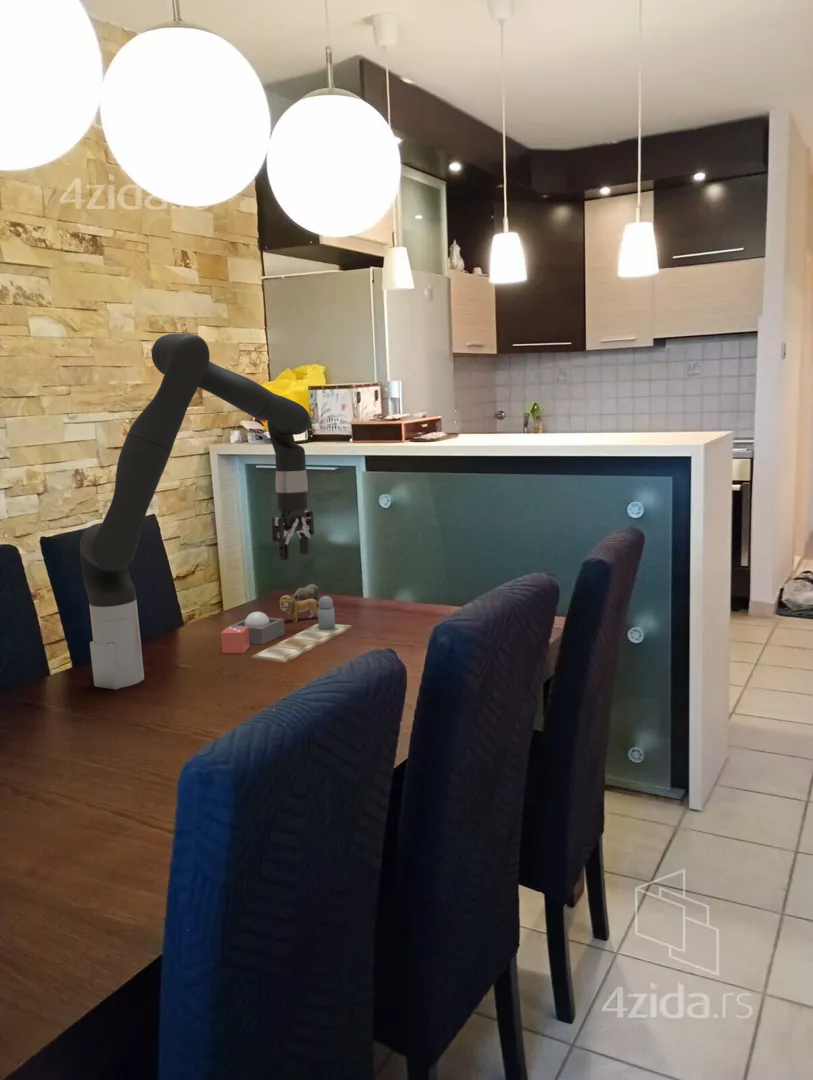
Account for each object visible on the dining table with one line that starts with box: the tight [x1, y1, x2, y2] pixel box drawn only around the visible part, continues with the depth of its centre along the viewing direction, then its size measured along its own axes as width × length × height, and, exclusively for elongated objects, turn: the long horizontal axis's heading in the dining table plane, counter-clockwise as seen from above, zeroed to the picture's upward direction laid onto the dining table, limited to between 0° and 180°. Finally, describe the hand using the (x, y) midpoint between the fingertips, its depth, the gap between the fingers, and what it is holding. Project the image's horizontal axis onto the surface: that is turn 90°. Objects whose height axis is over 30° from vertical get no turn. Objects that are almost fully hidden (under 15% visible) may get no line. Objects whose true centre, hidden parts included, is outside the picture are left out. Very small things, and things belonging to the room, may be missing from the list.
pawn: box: [317, 595, 336, 630], centre depth 211 cm, size 4×4×8 cm
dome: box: [244, 611, 270, 628], centre depth 208 cm, size 6×6×6 cm
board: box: [250, 623, 352, 664], centre depth 203 cm, size 29×9×1 cm, turn 154°
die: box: [220, 626, 251, 654], centre depth 199 cm, size 5×5×5 cm
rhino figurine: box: [287, 583, 320, 602], centre depth 235 cm, size 4×14×6 cm, turn 152°
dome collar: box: [229, 617, 286, 645], centre depth 208 cm, size 9×9×4 cm
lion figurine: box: [279, 594, 319, 623], centre depth 223 cm, size 12×4×7 cm, turn 118°
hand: (294, 556), depth 208 cm, fingers open, 8 cm apart
